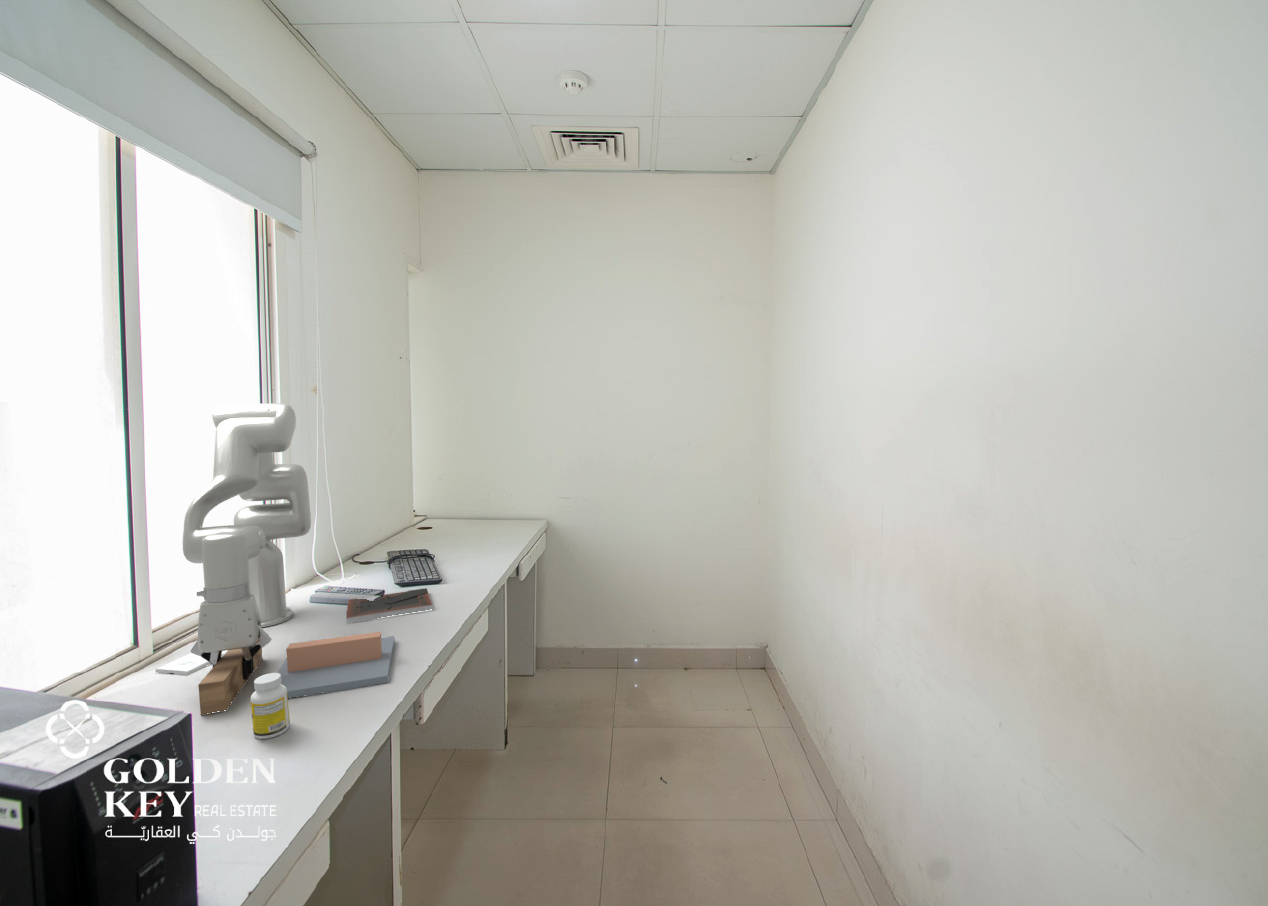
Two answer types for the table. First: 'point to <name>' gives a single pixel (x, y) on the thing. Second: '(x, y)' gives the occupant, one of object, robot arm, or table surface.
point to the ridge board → (336, 664)
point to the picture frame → (388, 605)
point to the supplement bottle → (269, 706)
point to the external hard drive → (185, 664)
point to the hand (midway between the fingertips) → (234, 677)
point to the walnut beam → (224, 681)
